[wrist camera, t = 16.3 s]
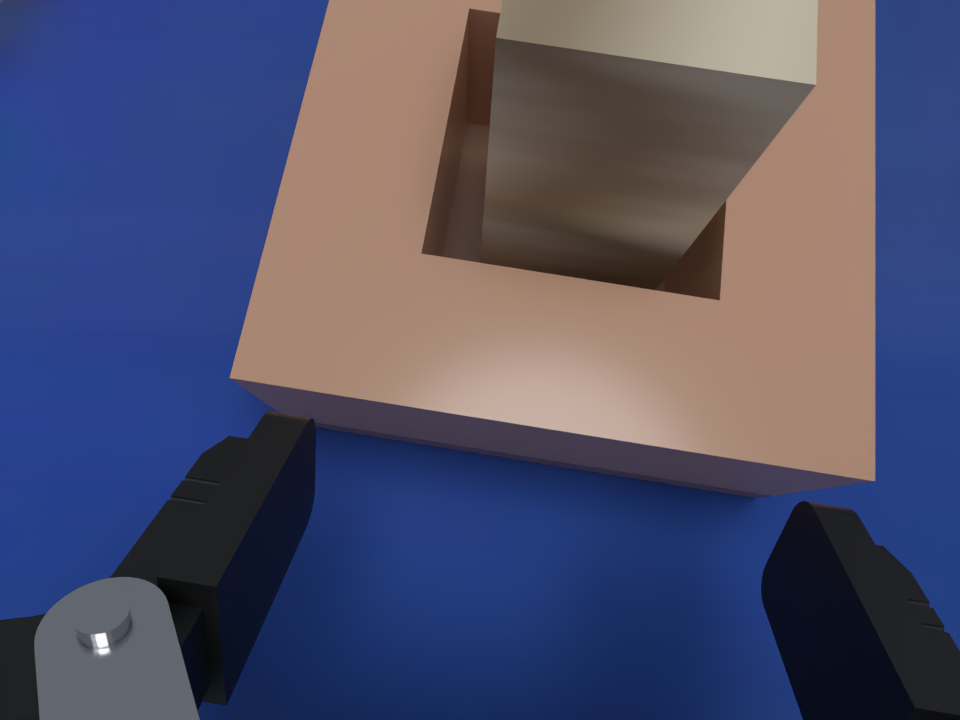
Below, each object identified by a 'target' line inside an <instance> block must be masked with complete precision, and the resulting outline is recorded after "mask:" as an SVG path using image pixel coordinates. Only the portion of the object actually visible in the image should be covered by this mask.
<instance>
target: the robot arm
mask: <svg viewBox="0 0 960 720" xmlns="http://www.w3.org/2000/svg"><path fill="white" fill-rule="evenodd" d="M315 450H316V425H315V421H314V419H313V418H308V417H302V416H296V415H290V414H284V413H277V412H271V411H268V412H267V413H265V415H264V416H263V417H262V419H261V420H260V422H259V423H258V425H257V426H256V428H255V429H254V431H253V432H252V434H251V435H250V437H249V438H248V439H244V438H238V437H232V436H229V437H227V438H226V439H224V440H223V441H221V442H219V443H218V444H216V445H215V446H213V447H212V448H210V449H209V450H207V451H205V452H204V453H202V455H201V456H200V457H199V459H198V460H197V461H196V463H195V464H194V465H193V467H192V468H191V469H190V471H189V472H188V474H187V475H186V476H185V481H182V482H181V483H180V484H179V486H178V487H177V488H176V490H175V491H174V492H173V494H172V495H171V499H170V501H169V500H167V502H166V503H165V505H164V506H163V507H162V509H161V510H160V511H159V513H158V514H157V515H156V517H155V518H154V519H153V521H152V522H151V523H150V525H149V526H148V527H147V529H146V530H145V531H144V533H143V534H142V536H141V537H140V538H139V540H138V541H137V542H136V544H135V545H134V546H133V548H132V549H131V550H130V552H129V553H128V554H127V556H126V557H125V558H124V560H123V561H122V563H121V564H120V565H119V567H118V568H117V569H116V571H115V572H114V573H113V574H112V576H111V577H110V578H107V579H103V580H99V581H95V582H92V583H90V584H87V585H84V586H82V587H80V588H78V589H76V590H74V591H73V592H71V593H69V594H68V595H66V596H65V597H63V598H62V599H61V600H60V601H58V602H57V603H56V604H55V605H54V606H53V607H52V608H51V609H50V610H49V611H48V612H47V613H46V614H43V615H38V616H32V617H24V618H15V619H6V620H0V720H200V719H199V716H198V712H197V711H198V709H199V707H200V705H201V703H202V701H203V702H209V703H215V704H221V705H227V703H228V701H229V699H230V696H231V694H232V692H233V690H234V687H235V685H236V683H237V681H238V678H239V676H240V674H241V672H242V670H243V667H244V665H245V663H246V661H247V658H248V656H249V654H250V652H251V649H252V647H253V645H254V643H255V641H256V638H257V636H258V634H259V632H260V629H261V627H262V625H263V623H264V620H265V618H266V616H267V614H268V612H269V609H270V607H271V605H272V603H273V600H274V598H275V596H276V594H277V591H278V589H279V587H280V585H281V583H282V580H283V578H284V576H285V574H286V571H287V569H288V567H289V565H290V562H291V560H292V558H293V556H294V554H295V551H296V549H297V547H298V545H299V542H300V540H301V538H302V536H303V533H304V531H305V529H306V527H307V524H308V521H309V518H310V514H311V511H312V506H313V501H314V493H315ZM761 593H762V601H763V605H764V608H765V611H766V614H767V617H768V620H769V623H770V625H771V628H772V631H773V634H774V637H775V640H776V643H777V646H778V649H779V651H780V654H781V657H782V660H783V663H784V666H785V669H786V672H787V674H788V677H789V680H790V683H791V686H792V689H793V692H794V695H795V697H796V700H797V703H798V706H799V709H800V712H801V715H802V718H803V720H960V651H959V649H958V648H957V646H956V645H955V643H954V641H953V640H952V638H951V636H950V635H949V633H946V632H944V625H943V624H942V622H941V620H940V619H939V617H938V615H937V614H936V612H935V611H934V609H933V608H929V601H928V599H927V598H926V596H925V594H924V593H923V591H922V590H921V588H920V586H919V585H918V583H917V581H916V580H915V578H914V577H913V575H912V573H911V572H910V571H908V570H907V569H906V568H905V567H904V566H903V565H902V564H901V563H900V562H899V561H898V560H897V559H896V558H895V557H894V556H893V555H892V554H891V553H890V552H889V551H888V550H886V549H885V548H884V547H883V546H879V545H875V544H874V542H873V540H872V538H871V537H870V535H869V533H868V532H867V530H866V528H865V527H864V525H863V523H862V521H861V520H860V518H859V516H858V515H857V514H856V513H855V512H854V511H853V510H851V509H848V508H842V507H836V506H830V505H824V504H818V503H812V502H806V501H802V502H800V503H798V504H797V505H796V506H795V507H794V509H793V511H792V513H791V515H790V517H789V519H788V521H787V523H786V525H785V527H784V529H783V531H782V533H781V535H780V537H779V539H778V541H777V543H776V545H775V547H774V549H773V551H772V553H771V555H770V557H769V559H768V561H767V563H766V566H765V568H764V571H763V576H762V584H761Z"/></svg>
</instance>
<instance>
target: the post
mask: <svg viewBox="0 0 960 720" xmlns="http://www.w3.org/2000/svg"><path fill="white" fill-rule="evenodd" d="M817 22H818V0H502V6H501V12H500V18H499V23H498V29H497V35H496V45H495V59H494V73H493V87H492V101H491V115H490V129H489V143H488V157H487V171H486V185H485V199H484V213H483V227H482V241H481V256H480V263H485V264H491V265H498V266H504V267H510V268H517V269H523V270H529V271H536V272H542V273H548V274H555V275H561V276H568V277H574V278H580V279H587V280H593V281H599V282H606V283H612V284H618V285H625V286H631V287H638V288H644V289H650V290H656V289H657V288H658V287H659V285H660V284H661V283H662V282H663V280H664V279H665V278H666V276H667V275H668V274H669V273H670V271H671V270H672V269H673V267H674V266H675V265H676V264H677V262H678V261H679V260H680V258H681V257H682V256H683V255H684V253H685V252H686V251H687V250H688V248H689V247H690V246H691V244H692V243H693V242H694V241H695V239H696V238H697V237H698V235H699V234H700V233H701V232H702V230H703V229H704V228H705V227H706V225H707V224H708V223H709V221H710V220H711V219H712V218H713V216H714V215H715V214H716V212H717V211H718V210H719V209H720V207H721V206H722V205H723V204H724V202H725V201H726V200H727V198H728V197H729V196H730V195H731V193H732V192H733V191H734V189H735V188H736V187H737V186H738V184H739V183H740V182H741V181H742V179H743V178H744V177H745V175H746V174H747V173H748V172H749V170H750V169H751V168H752V166H753V165H754V164H755V163H756V161H757V160H758V159H759V157H760V156H761V155H762V154H763V152H764V151H765V150H766V149H767V147H768V146H769V145H770V143H771V142H772V141H773V140H774V138H775V137H776V136H777V134H778V133H779V132H780V131H781V129H782V128H783V127H784V126H785V124H786V123H787V122H788V120H789V119H790V118H791V117H792V115H793V114H794V113H795V111H796V110H797V109H798V108H799V106H800V105H801V104H802V103H803V101H804V100H805V99H806V97H807V96H808V95H809V94H810V92H811V91H812V90H813V88H814V87H815V86H816V70H817Z"/></svg>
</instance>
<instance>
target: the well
mask: <svg viewBox="0 0 960 720" xmlns="http://www.w3.org/2000/svg"><path fill="white" fill-rule="evenodd" d="M501 6H502V0H329V3H328V7H327V11H326V15H325V19H324V22H323V26H322V30H321V34H320V38H319V41H318V45H317V49H316V53H315V56H314V60H313V64H312V68H311V72H310V75H309V79H308V83H307V87H306V91H305V94H304V98H303V102H302V106H301V110H300V113H299V117H298V121H297V125H296V128H295V132H294V136H293V140H292V144H291V147H290V151H289V155H288V159H287V163H286V166H285V170H284V174H283V178H282V182H281V185H280V189H279V193H278V197H277V200H276V204H275V208H274V212H273V216H272V219H271V223H270V227H269V231H268V235H267V238H266V242H265V246H264V250H263V253H262V257H261V261H260V265H259V269H258V272H257V276H256V280H255V284H254V288H253V291H252V295H251V299H250V303H249V307H248V310H247V314H246V318H245V322H244V325H243V329H242V333H241V337H240V341H239V344H238V348H237V352H236V356H235V360H234V363H233V367H232V371H231V375H230V379H232V380H233V381H235V382H236V383H238V384H239V385H240V386H242V387H243V388H245V389H246V390H248V391H249V392H250V393H252V394H253V395H255V396H256V397H257V398H259V399H260V400H262V401H263V402H265V403H266V404H267V405H269V406H270V407H272V408H273V409H275V410H276V411H277V412H279V413H284V414H290V415H296V416H302V417H308V418H313V419H314V421H315V425H316V427H317V428H323V429H329V430H335V431H342V432H348V433H354V434H360V435H366V436H373V437H379V438H385V439H391V440H398V441H404V442H410V443H416V444H422V445H429V446H435V447H441V448H447V449H453V450H460V451H466V452H472V453H478V454H484V455H491V456H497V457H503V458H509V459H516V460H522V461H528V462H534V463H540V464H547V465H553V466H559V467H565V468H571V469H578V470H584V471H590V472H596V473H602V474H609V475H615V476H621V477H627V478H634V479H640V480H646V481H652V482H658V483H665V484H671V485H677V486H683V487H689V488H696V489H702V490H708V491H714V492H720V493H727V494H733V495H739V496H745V497H752V498H761V497H769V496H776V495H783V494H790V493H797V492H804V491H811V490H818V489H825V488H832V487H839V486H846V485H853V484H860V483H867V482H875V0H818V22H817V70H816V86H815V87H814V88H813V90H812V91H811V92H810V94H809V95H808V96H807V97H806V99H805V100H804V101H803V103H802V104H801V105H800V106H799V108H798V109H797V110H796V111H795V113H794V114H793V115H792V117H791V118H790V119H789V120H788V122H787V123H786V124H785V126H784V127H783V128H782V129H781V131H780V132H779V133H778V134H777V136H776V137H775V138H774V140H773V141H772V142H771V143H770V145H769V146H768V147H767V149H766V150H765V151H764V152H763V154H762V155H761V156H760V157H759V159H758V160H757V161H756V163H755V164H754V165H753V166H752V168H751V169H750V170H749V172H748V173H747V174H746V175H745V177H744V178H743V179H742V181H741V182H740V183H739V184H738V186H737V187H736V188H735V189H734V191H733V192H732V193H731V195H730V196H729V197H728V198H727V200H726V201H725V202H724V204H723V205H722V206H721V207H720V209H719V210H718V211H717V212H716V214H715V215H714V216H713V218H712V219H711V220H710V221H709V223H708V224H707V225H706V227H705V228H704V229H703V230H702V232H701V233H700V234H699V235H698V237H697V238H696V239H695V241H694V242H693V243H692V244H691V246H690V247H689V248H688V250H687V251H686V252H685V253H684V255H683V256H682V257H681V258H680V260H679V261H678V262H677V264H676V265H675V266H674V267H673V269H672V270H671V271H670V273H669V274H668V275H667V276H666V278H665V279H664V280H663V282H662V283H661V284H660V285H659V287H658V288H657V289H656V290H650V289H644V288H638V287H631V286H625V285H618V284H612V283H606V282H599V281H593V280H587V279H580V278H574V277H568V276H561V275H555V274H548V273H542V272H536V271H529V270H523V269H517V268H510V267H504V266H498V265H491V264H485V263H480V256H481V241H482V227H483V213H484V199H485V185H486V171H487V157H488V143H489V129H490V115H491V101H492V87H493V73H494V59H495V45H496V35H497V29H498V23H499V18H500V12H501Z"/></svg>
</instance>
